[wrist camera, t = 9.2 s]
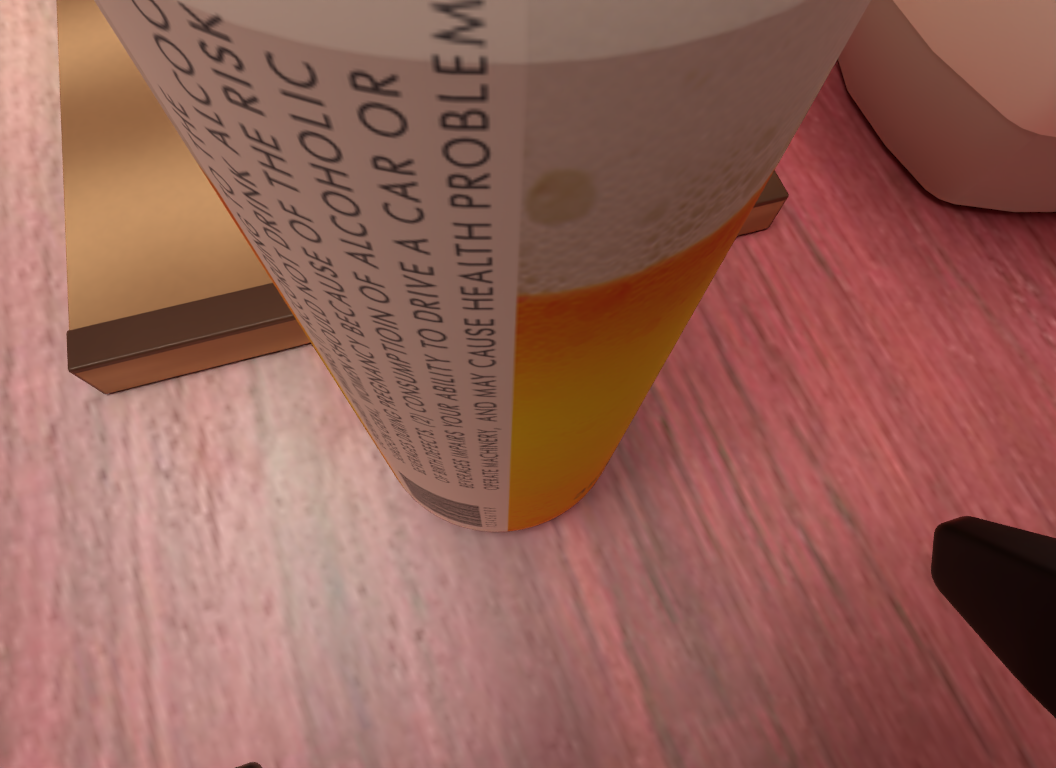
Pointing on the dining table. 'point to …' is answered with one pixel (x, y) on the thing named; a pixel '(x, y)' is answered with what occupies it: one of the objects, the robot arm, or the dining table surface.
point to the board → (163, 231)
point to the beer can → (488, 202)
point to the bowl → (962, 96)
